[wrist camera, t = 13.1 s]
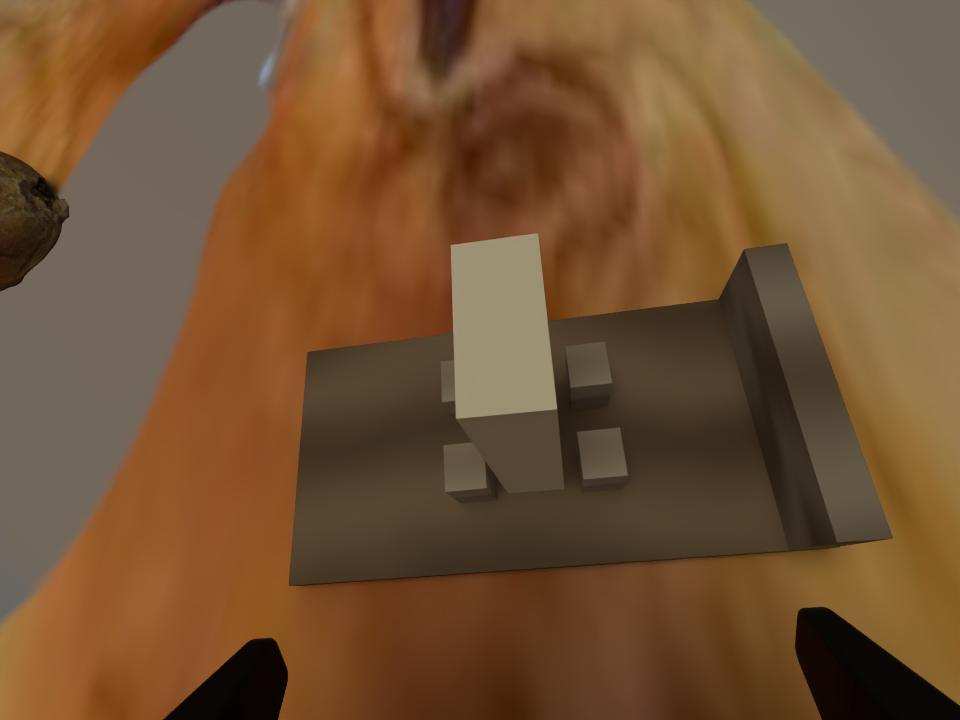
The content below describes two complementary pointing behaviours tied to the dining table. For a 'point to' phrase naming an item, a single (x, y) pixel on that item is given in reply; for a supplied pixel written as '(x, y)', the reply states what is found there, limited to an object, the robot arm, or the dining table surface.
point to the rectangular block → (506, 361)
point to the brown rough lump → (26, 219)
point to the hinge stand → (592, 446)
